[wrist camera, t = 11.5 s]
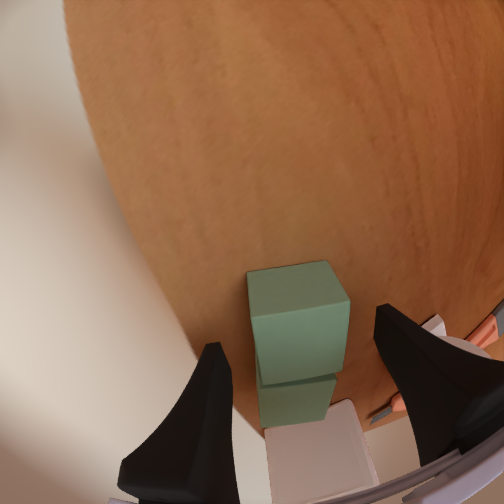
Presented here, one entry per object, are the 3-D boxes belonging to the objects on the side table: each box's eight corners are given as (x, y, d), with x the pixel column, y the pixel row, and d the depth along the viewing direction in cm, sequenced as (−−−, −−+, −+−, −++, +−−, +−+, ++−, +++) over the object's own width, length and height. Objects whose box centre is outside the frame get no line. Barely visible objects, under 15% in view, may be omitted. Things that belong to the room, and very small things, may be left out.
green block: (321, 334, 16) (338, 379, 13) (313, 379, 18) (324, 420, 15) (254, 341, 16) (259, 389, 13) (256, 385, 18) (260, 428, 15)
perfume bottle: (349, 396, 19) (389, 524, 9) (354, 405, 20) (391, 523, 10) (261, 428, 21) (274, 551, 10) (271, 435, 22) (286, 549, 11)
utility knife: (516, 322, 17) (380, 433, 22) (511, 317, 18) (378, 426, 22) (514, 298, 16) (363, 424, 20) (508, 293, 16) (360, 416, 21)
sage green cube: (326, 259, 14) (351, 300, 10) (325, 326, 16) (342, 371, 12) (246, 271, 14) (250, 318, 10) (257, 338, 16) (262, 386, 12)
